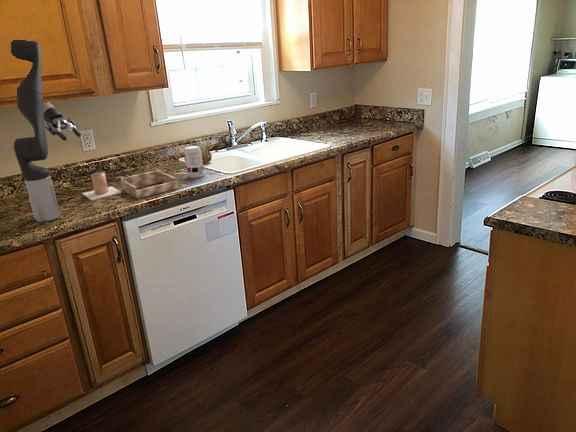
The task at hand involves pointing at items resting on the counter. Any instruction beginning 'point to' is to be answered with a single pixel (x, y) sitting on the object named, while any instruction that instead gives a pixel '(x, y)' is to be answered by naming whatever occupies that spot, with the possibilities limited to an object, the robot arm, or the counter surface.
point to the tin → (205, 156)
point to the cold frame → (148, 183)
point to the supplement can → (194, 161)
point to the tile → (93, 196)
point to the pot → (99, 183)
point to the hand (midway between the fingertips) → (73, 137)
